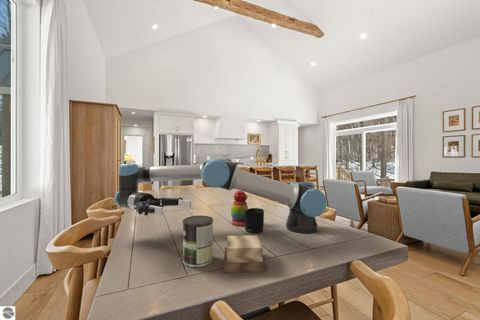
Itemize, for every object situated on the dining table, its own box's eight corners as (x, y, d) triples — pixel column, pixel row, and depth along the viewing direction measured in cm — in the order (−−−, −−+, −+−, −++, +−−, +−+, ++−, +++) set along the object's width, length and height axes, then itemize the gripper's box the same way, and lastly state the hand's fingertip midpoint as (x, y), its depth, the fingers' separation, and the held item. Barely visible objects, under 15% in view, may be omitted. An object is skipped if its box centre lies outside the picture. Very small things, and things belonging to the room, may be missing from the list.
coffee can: (180, 268, 69) (180, 224, 69) (185, 254, 80) (185, 215, 79) (212, 266, 70) (212, 223, 70) (213, 253, 80) (213, 215, 80)
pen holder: (241, 228, 108) (241, 208, 108) (259, 226, 111) (259, 207, 111) (248, 235, 99) (248, 213, 99) (267, 232, 102) (267, 211, 102)
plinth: (259, 253, 80) (259, 234, 80) (266, 271, 67) (266, 248, 67) (224, 254, 79) (224, 235, 79) (224, 272, 66) (223, 249, 66)
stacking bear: (248, 227, 110) (247, 192, 110) (228, 226, 112) (228, 191, 112) (251, 221, 121) (251, 189, 121) (233, 220, 123) (233, 189, 123)
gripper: (166, 205, 102) (200, 211, 91) (111, 217, 80) (147, 227, 69) (166, 189, 102) (200, 193, 90) (111, 197, 80) (147, 203, 69)
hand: (177, 208), depth 80 cm, fingers open, 13 cm apart
